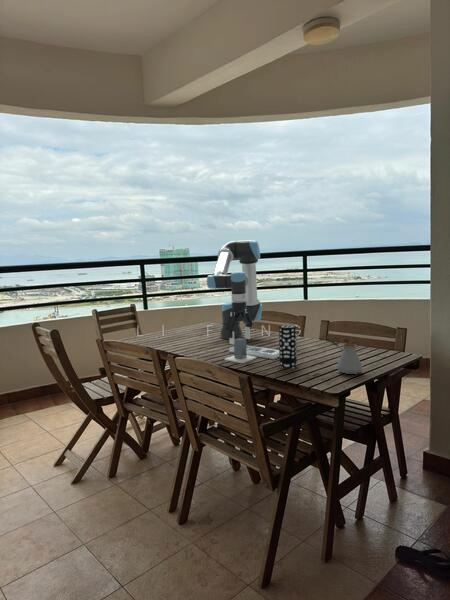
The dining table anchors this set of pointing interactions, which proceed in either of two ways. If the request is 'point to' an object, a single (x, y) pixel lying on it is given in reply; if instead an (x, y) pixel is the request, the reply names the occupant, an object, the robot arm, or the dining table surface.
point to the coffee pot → (348, 359)
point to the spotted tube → (287, 346)
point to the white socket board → (259, 352)
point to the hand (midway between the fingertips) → (240, 341)
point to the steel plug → (240, 348)
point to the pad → (240, 359)
